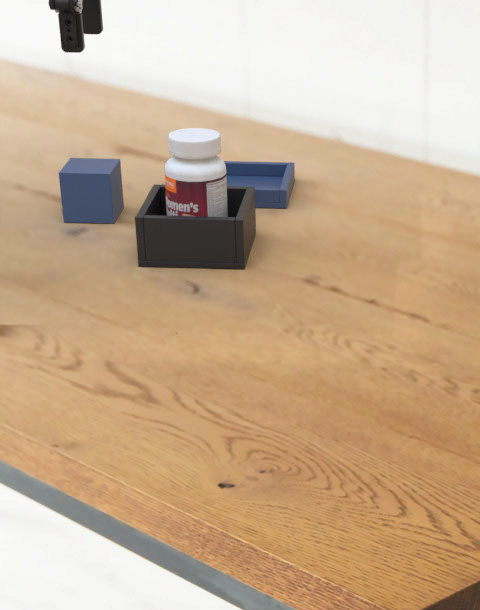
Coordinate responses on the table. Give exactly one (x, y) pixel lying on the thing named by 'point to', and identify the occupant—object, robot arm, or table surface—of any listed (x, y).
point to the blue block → (91, 190)
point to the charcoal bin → (196, 233)
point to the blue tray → (263, 181)
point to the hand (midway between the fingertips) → (83, 42)
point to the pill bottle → (195, 174)
